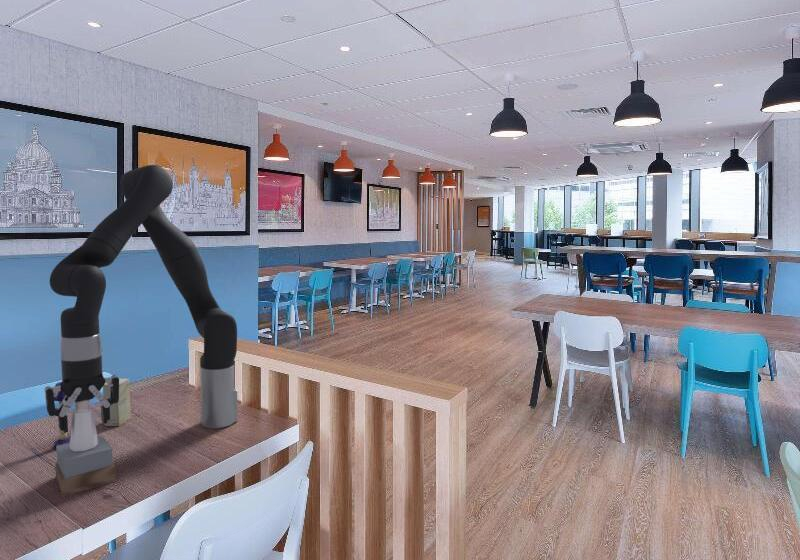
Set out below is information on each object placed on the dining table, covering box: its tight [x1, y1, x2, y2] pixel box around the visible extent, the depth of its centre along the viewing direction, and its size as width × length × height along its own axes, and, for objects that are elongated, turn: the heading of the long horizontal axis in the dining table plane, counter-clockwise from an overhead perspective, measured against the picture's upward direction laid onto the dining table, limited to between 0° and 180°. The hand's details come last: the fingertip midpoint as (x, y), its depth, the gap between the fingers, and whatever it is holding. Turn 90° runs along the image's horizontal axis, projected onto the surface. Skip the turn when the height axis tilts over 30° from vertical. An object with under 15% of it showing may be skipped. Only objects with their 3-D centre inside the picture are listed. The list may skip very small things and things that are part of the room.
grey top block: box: [55, 434, 114, 479], centre depth 110 cm, size 9×9×4 cm
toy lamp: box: [53, 381, 71, 450], centre depth 126 cm, size 5×5×17 cm
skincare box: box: [102, 377, 132, 427], centre depth 141 cm, size 6×4×12 cm
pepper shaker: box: [69, 399, 98, 452], centre depth 110 cm, size 5×5×11 cm
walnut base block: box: [54, 461, 117, 497], centre depth 111 cm, size 10×10×4 cm
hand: (85, 426), depth 110 cm, fingers open, 7 cm apart
